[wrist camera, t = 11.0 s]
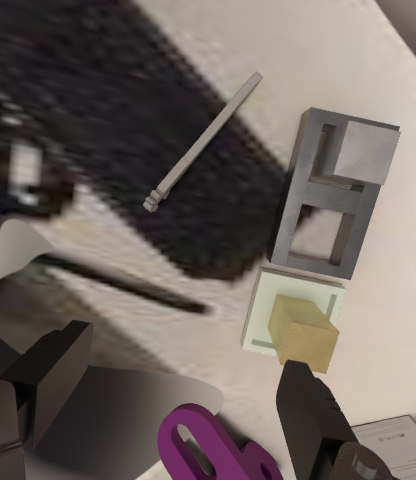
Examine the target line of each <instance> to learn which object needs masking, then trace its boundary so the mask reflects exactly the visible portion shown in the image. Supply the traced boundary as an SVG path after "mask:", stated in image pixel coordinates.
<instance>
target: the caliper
mask: <svg viewBox="0 0 416 480" xmlns="http://www.w3.org/2000/svg"><path fill="white" fill-rule="evenodd" d="M262 78H263V77H262V76H261V75H260V74H259V73H258V72H255V74H254V75H253V76H252V77H250V78H249V80H248V81H247V82H246V83H245V84H244V86H243V87H242V88H241V89H240V90H239V91H238V93H237V94H236V95H235V96H234V97H233V99H232V100H231V101H230V102H229V103H228V105H227V106H226V107H225V108H224V109H223V111H222V112H221V113H220V114H219V115H218V116H217V118H216V119H215V120H214V121H213V122H212V124H211V125H210V126H209V127H208V128H207V130H206V131H205V132H204V133H203V134H202V136H201V137H200V138H199V139H198V140H197V141H196V143H195V144H194V145H193V146H192V147H191V149H190V150H189V151H188V152H187V153H186V155H185V156H184V157H183V158H181V160H180V161H179V162H178V163H177V164H176V166H175V167H174V168H173V169H172V170H171V171H170V173H169V174H168V175H167V176H166V177H165V179H164V180H163V181H162V182H161V183H160V184H159V186H158V187H157V189H156V190H155V191H154V190H152V192H151V196H149V197H147V198H146V201H145V203H144V204H143V205H144V207H145V208H146V209H147V210H149V211H150V212H154V211H156V210H157V209H158V208H159V207H158V203H159V202H160V200H161V199H162V198H163V199H164V200H165V199H166V198H167V196H168V194H169V192H170V189H171V188H172V187H173V186H174V184H176V182H177V181H178V180H179V179H180V178H181V177H182V175H183V174H184V173H185V172H186V171H187V170H188V168H189V166H190V165H191V164H192V162H193V161H194V160H195V159H196V158H197V156H198V155H199V154H200V153H201V152H202V150H203V149H204V148H205V147H206V146H207V144H208V143H209V142H210V141H211V140H212V138H213V137H214V136H215V135H216V134H217V133H218V131H219V130H220V129H221V128H222V127H223V125H224V124H225V123H226V122H227V121H228V119H229V118H230V117H231V116H232V115H233V113H234V112H235V111H236V110H237V109H238V107H239V106H240V105H241V104H242V103H243V102H244V100H245V99H246V98H247V97H248V95H249V94H250V93H251V92H252V90H253V89H254V88H255V86H256V85H257V84H258V83H259V82H260V80H261V79H262Z"/></svg>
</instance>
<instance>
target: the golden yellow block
mask: <svg viewBox="0 0 416 480" xmlns="http://www.w3.org/2000/svg"><path fill="white" fill-rule="evenodd" d="M268 331H269V334H270V337H271V339H272V342H273V345H274V347H275V350H276V353H277V356H278V358H279V361H280V364H281V365H285V362H286V361H287V360H288V359H289V360H294V361H300V362H305V363H307V364H308V366H309V368H310V370H311V371H315V372H320V373H324V374H326V372H327V369H328V366H329V363H330V360H331V357H332V354H333V350H334V347H335V344H336V341H337V338H338V335H339V331H338V330H337V329H336V328H335V326H334V325H333V324H332V323H331V322H330V321H329V319H328V318H327V317H326V316H325V315H324V314H323V312H322V311H321V310H320V309H319V308H318V307H317V305H316V304H315V303H314V302H313V301H308V300H303V299H298V298H293V297H289V296H284V295H279V294H276V298H275V301H274V305H273V309H272V313H271V316H270V320H269V324H268Z"/></svg>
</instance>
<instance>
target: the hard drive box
mask: <svg viewBox="0 0 416 480" xmlns="http://www.w3.org/2000/svg"><path fill="white" fill-rule="evenodd" d="M351 429H352V430H353V432H354V434H355V436H356V438H357V439H358V441H359V443H360V444H361V445H363V446H365V447H367V448H369V449H370V450H372V451H373V452H374V453H376V454H377V455H378V456H379V457H380V458H381V459H382V460H383V461H384V462H385V464H386V465H387V466H388V468H389V470H390V472H391V474H392V476H394V477H396V478H398V479H400V480H416V422H415V420H414V419H413V418H412V417H411V416H410V415H408V416H403V417H398V418H394V419H388V420H383V421H379V422H376V423H371V424H366V425H361V426H357V427H352V428H351Z"/></svg>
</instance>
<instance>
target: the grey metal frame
mask: <svg viewBox="0 0 416 480" xmlns="http://www.w3.org/2000/svg"><path fill="white" fill-rule="evenodd" d="M347 121H354V122H358V123H363V124H367V125H372V126H376V127H381V128H386V129H390V130H395V131H399V128H400V127H399V126H394V125H390V124H385V123H381V122H376V121H371V120H367V119H362V118H358V117H353V116H349V115H344V114H339V113H335V112H330V111H326V110H321V109H317V108H312V107H311V108H310V109H309V110H307V111H306V112H305V113H304V114H303V115H302V119H301V123H300V127H299V131H298V135H297V139H296V143H295V147H294V150H293V154H292V158H291V162H290V166H289V170H288V174H287V178H286V182H285V185H284V189H283V193H282V197H281V201H280V205H279V209H278V213H277V217H276V220H275V224H274V228H273V232H272V236H271V240H270V244H269V248H268V252H267V255H266V258H267V259H268V260H269V262H270V263H272V264H277V265H282V266H286V267H291V268H296V269H300V270H305V271H310V272H315V273H319V274H324V275H329V276H334V277H338V278H343V279H348V280H351V278H352V275H353V272H354V268H355V265H356V262H357V259H358V256H359V253H360V250H361V247H362V243H363V240H364V237H365V234H366V231H367V228H368V225H369V222H370V218H371V215H372V212H373V209H374V206H375V203H376V200H377V197H378V194H379V190H380V187H381V185H362V186H352V188H351V190H346V189H342V188H337V187H333V186H328V185H323V184H319V183H314V182H309V181H308V180H309V176H310V172H311V169H312V165H313V161H314V157H315V154H316V150H317V146H318V143H319V139H320V135H321V132H322V131H329V130H331V129H333V128H335V127H337V126H339V125H341V124H343V123H345V122H347ZM302 204H305V205H310V206H314V207H319V208H324V209H328V210H333V211H338V212H342V213H344V214H343V218H342V221H341V224H340V228H339V231H338V234H337V238H336V241H335V244H334V247H333V251H332V254H331V257H330V261H329V260H324V259H319V258H315V257H310V256H305V255H301V254H296V253H291V252H289V249H290V246H291V242H292V238H293V235H294V231H295V227H296V224H297V220H298V216H299V213H300V209H301V205H302Z"/></svg>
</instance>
